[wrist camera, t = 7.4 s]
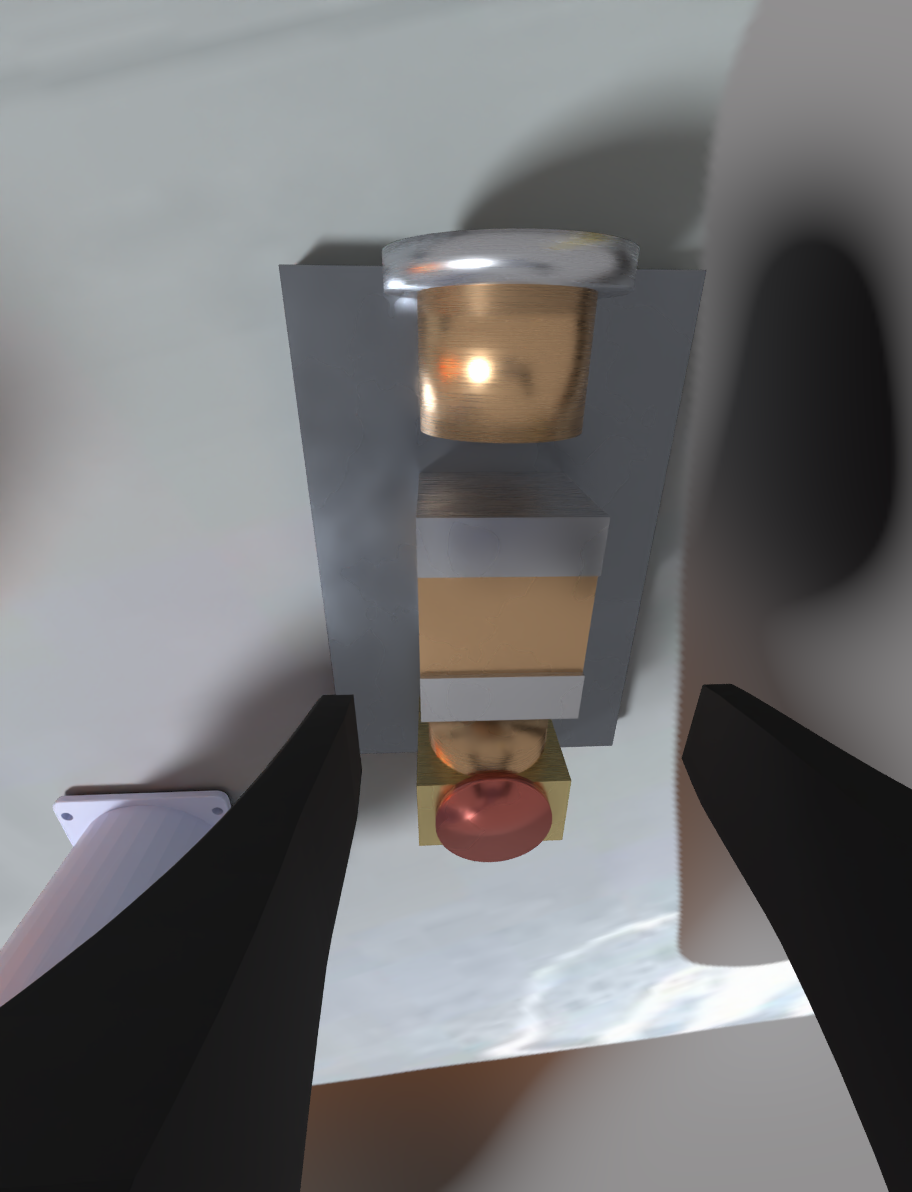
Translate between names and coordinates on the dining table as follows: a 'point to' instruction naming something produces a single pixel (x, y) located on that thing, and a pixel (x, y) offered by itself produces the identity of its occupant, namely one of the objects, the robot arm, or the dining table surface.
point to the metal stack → (482, 444)
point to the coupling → (505, 593)
